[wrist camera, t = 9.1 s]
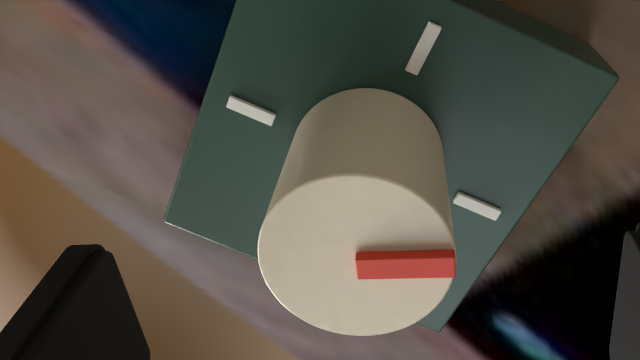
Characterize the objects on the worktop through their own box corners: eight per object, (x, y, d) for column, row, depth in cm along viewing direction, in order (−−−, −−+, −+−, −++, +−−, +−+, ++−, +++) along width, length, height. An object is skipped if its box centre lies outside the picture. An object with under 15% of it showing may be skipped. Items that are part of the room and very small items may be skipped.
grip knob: (301, 224, 19) (270, 346, 15) (281, 92, 17) (237, 185, 13) (444, 220, 19) (458, 346, 14) (441, 82, 16) (457, 175, 12)
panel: (284, -97, 18) (263, -85, 15) (591, 43, 19) (623, 79, 16) (189, 178, 23) (160, 225, 20) (435, 278, 23) (440, 337, 21)
